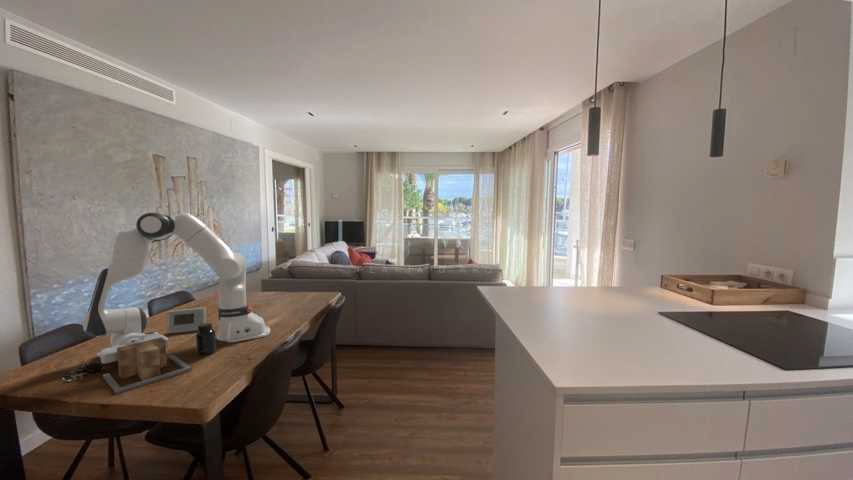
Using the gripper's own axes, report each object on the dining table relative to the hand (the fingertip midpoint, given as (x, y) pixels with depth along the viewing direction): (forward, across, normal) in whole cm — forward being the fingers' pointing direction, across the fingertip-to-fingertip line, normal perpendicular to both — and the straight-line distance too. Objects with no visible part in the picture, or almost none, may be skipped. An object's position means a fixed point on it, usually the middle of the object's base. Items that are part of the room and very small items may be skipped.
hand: (141, 354), depth 128 cm
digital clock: (-35, +26, +6) cm, 44 cm away
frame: (+6, 0, +6) cm, 8 cm away
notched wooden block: (+6, 0, +6) cm, 8 cm away
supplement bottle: (+3, +20, +6) cm, 21 cm away
